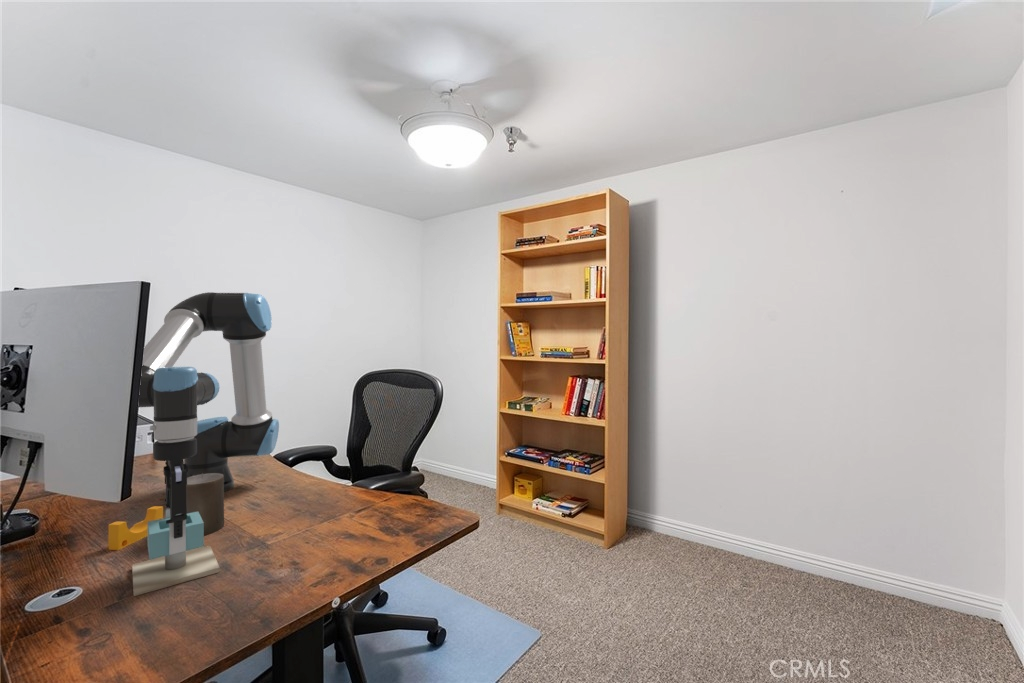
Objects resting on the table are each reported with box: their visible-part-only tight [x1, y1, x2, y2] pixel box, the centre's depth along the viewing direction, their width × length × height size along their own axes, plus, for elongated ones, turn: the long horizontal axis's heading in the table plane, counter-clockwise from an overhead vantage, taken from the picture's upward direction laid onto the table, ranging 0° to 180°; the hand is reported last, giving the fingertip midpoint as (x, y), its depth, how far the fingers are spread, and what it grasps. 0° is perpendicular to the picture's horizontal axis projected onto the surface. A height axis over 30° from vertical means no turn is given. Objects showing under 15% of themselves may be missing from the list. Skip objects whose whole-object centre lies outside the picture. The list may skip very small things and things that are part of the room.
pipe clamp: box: [108, 505, 164, 551], centre depth 112 cm, size 12×4×6 cm, turn 174°
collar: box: [146, 512, 205, 560], centre depth 96 cm, size 9×9×5 cm
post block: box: [131, 544, 221, 597], centre depth 96 cm, size 14×14×8 cm
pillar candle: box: [186, 473, 225, 537], centre depth 117 cm, size 10×10×15 cm
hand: (175, 544), depth 96 cm, fingers closed on collar, 9 cm apart
